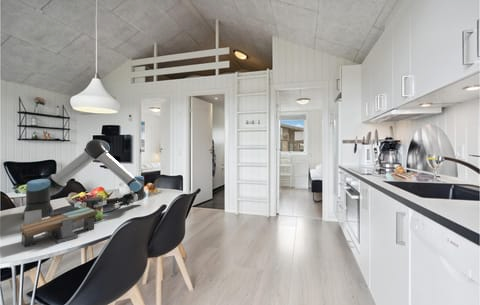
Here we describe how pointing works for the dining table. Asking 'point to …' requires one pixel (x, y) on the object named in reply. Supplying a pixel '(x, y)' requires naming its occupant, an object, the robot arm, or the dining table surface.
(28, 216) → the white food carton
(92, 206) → the coffee can
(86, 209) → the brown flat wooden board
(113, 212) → the dining table surface
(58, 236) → the pivot stand
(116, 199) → the robot arm
